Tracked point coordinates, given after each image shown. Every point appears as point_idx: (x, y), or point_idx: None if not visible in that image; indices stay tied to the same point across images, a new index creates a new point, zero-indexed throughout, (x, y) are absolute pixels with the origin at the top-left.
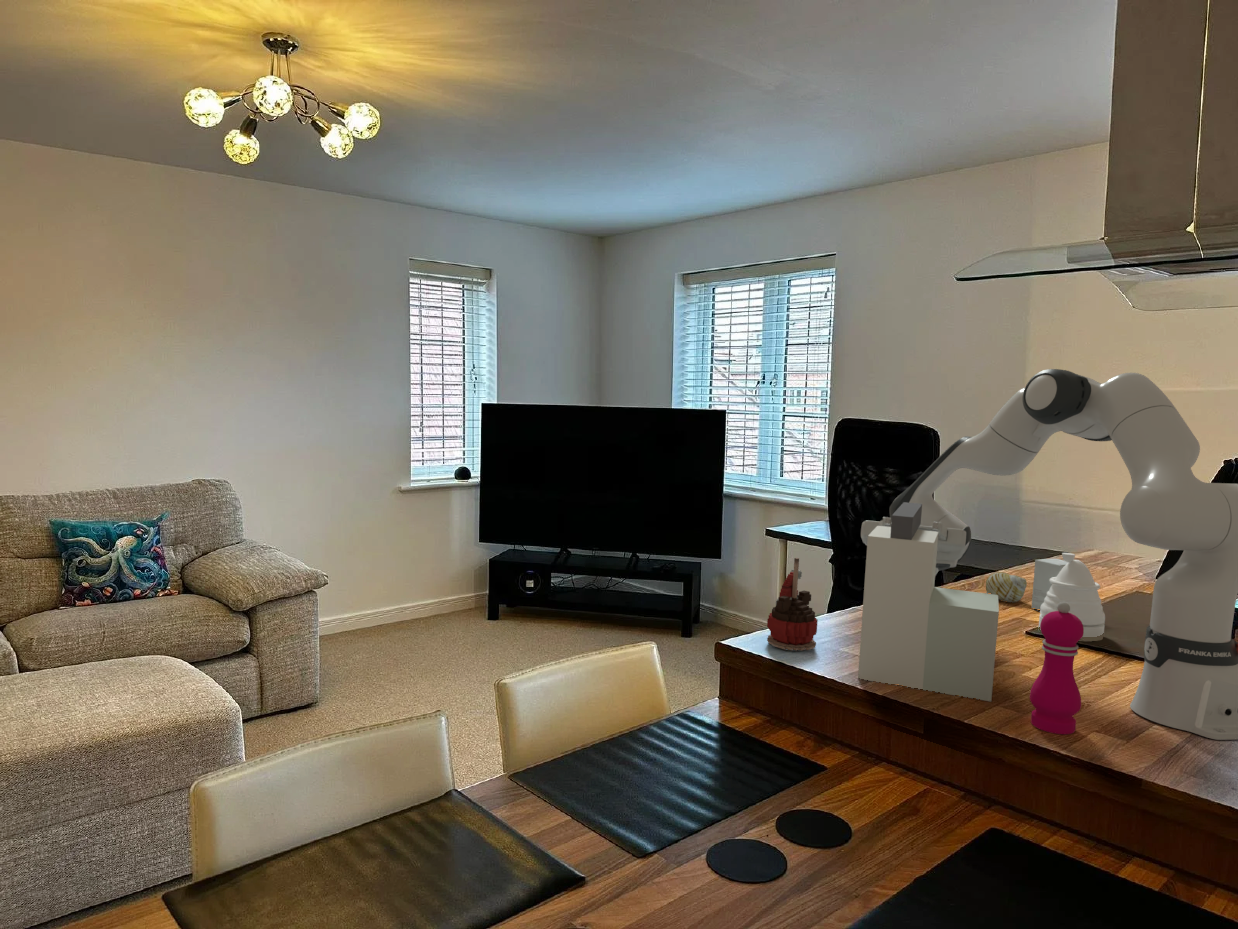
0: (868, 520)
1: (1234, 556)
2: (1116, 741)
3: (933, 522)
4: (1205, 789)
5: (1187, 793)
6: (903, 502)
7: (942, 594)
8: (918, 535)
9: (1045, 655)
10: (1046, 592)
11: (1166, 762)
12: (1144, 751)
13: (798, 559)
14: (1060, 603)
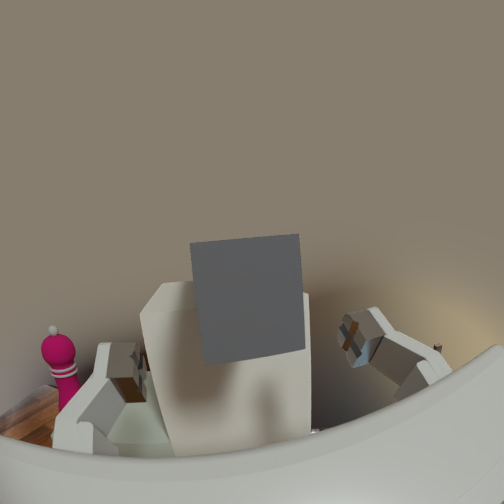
0: (495, 346)
1: None
2: (51, 423)
3: (136, 342)
4: (42, 391)
5: (54, 387)
6: (292, 234)
7: (155, 406)
8: (187, 290)
9: (76, 375)
10: None
11: (40, 407)
12: (43, 415)
13: (435, 347)
14: (55, 326)
